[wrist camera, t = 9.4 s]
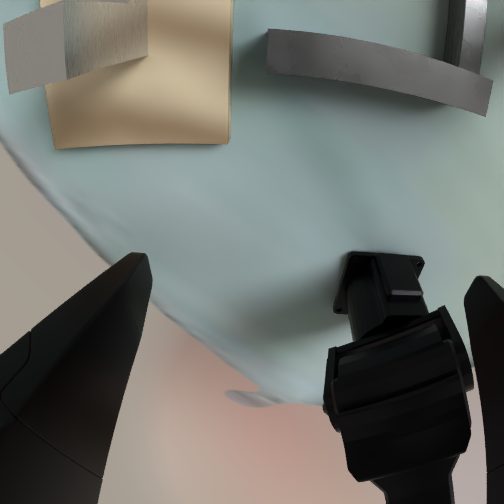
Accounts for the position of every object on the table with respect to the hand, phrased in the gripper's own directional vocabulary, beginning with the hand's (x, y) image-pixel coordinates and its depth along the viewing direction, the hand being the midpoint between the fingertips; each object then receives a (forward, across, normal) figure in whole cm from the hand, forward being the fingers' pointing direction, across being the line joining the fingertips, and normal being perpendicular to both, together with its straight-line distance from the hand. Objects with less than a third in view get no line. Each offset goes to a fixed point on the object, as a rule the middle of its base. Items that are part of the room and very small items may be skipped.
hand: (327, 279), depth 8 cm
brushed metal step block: (+12, +10, -8) cm, 17 cm away
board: (+13, +10, -6) cm, 17 cm away
